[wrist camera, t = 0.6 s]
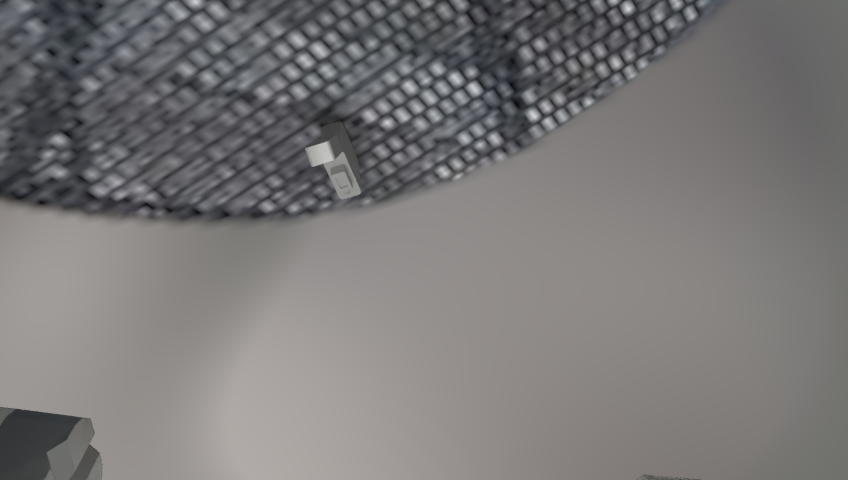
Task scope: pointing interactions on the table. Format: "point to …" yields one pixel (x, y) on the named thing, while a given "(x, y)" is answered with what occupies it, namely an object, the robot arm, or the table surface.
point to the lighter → (337, 159)
